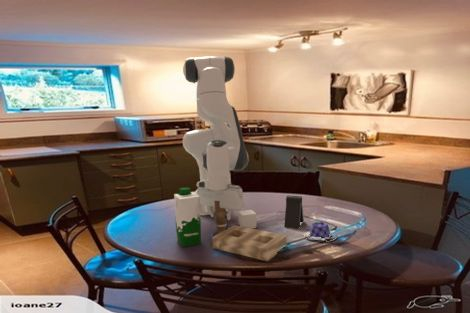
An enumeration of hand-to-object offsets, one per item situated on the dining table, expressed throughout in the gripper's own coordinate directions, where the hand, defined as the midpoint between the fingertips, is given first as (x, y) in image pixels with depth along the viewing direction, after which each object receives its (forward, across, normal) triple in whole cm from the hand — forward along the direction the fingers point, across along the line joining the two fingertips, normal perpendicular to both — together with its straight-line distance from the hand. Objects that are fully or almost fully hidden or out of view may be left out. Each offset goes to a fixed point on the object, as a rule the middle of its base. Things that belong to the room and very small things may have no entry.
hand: (220, 218), depth 138 cm
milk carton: (+7, +6, +12) cm, 15 cm away
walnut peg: (+7, 0, 0) cm, 7 cm away
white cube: (+7, -4, -13) cm, 15 cm away
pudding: (+7, -34, -16) cm, 38 cm away
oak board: (+7, -16, +5) cm, 18 cm away
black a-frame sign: (+7, -20, -24) cm, 32 cm away
